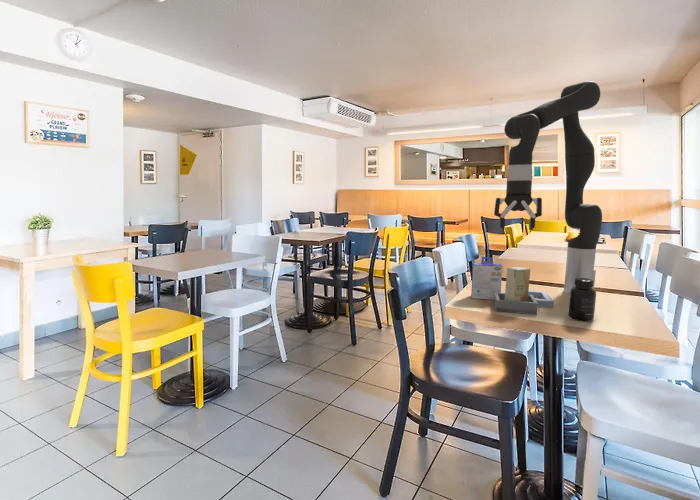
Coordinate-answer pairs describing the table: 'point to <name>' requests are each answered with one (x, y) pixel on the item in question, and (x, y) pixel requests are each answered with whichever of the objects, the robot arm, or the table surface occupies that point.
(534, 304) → the parts tray
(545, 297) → the socket block
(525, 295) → the skincare box
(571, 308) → the supplement bottle
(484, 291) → the ink cartridge box
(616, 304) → the table surface
